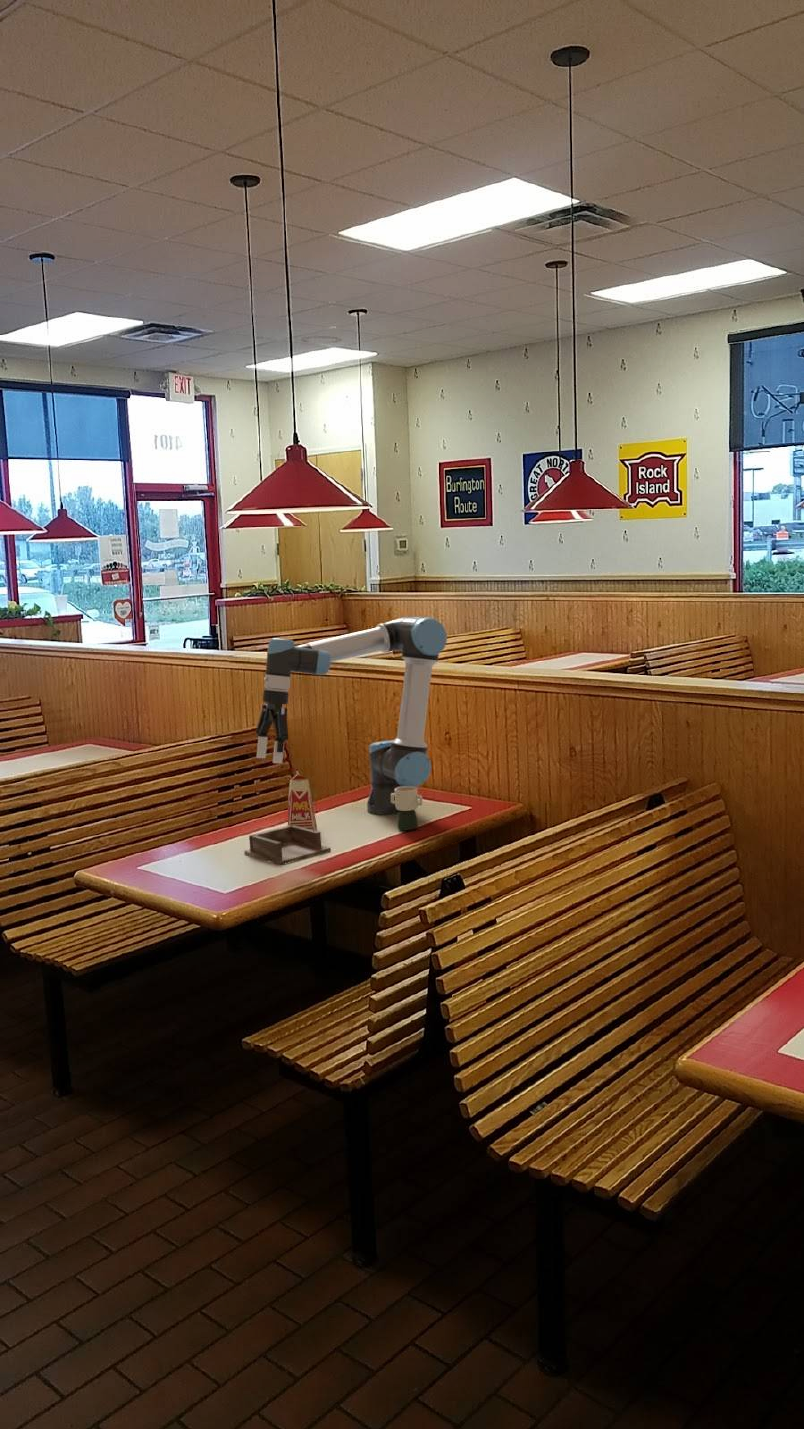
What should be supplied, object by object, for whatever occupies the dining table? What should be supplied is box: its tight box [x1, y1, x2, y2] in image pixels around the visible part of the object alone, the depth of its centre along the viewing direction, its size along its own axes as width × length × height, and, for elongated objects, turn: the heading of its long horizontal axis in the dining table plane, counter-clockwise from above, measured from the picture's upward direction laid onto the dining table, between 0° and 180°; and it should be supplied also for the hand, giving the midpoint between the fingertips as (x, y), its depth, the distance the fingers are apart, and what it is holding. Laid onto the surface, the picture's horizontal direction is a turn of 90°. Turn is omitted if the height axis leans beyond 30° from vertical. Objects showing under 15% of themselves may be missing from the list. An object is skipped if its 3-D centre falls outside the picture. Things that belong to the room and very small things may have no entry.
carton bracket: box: [243, 825, 332, 866], centre depth 322 cm, size 18×18×6 cm
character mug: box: [391, 786, 423, 831], centre depth 341 cm, size 11×7×13 cm, turn 63°
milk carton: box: [287, 770, 318, 831], centre depth 344 cm, size 9×9×20 cm
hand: (268, 760), depth 331 cm, fingers open, 13 cm apart
